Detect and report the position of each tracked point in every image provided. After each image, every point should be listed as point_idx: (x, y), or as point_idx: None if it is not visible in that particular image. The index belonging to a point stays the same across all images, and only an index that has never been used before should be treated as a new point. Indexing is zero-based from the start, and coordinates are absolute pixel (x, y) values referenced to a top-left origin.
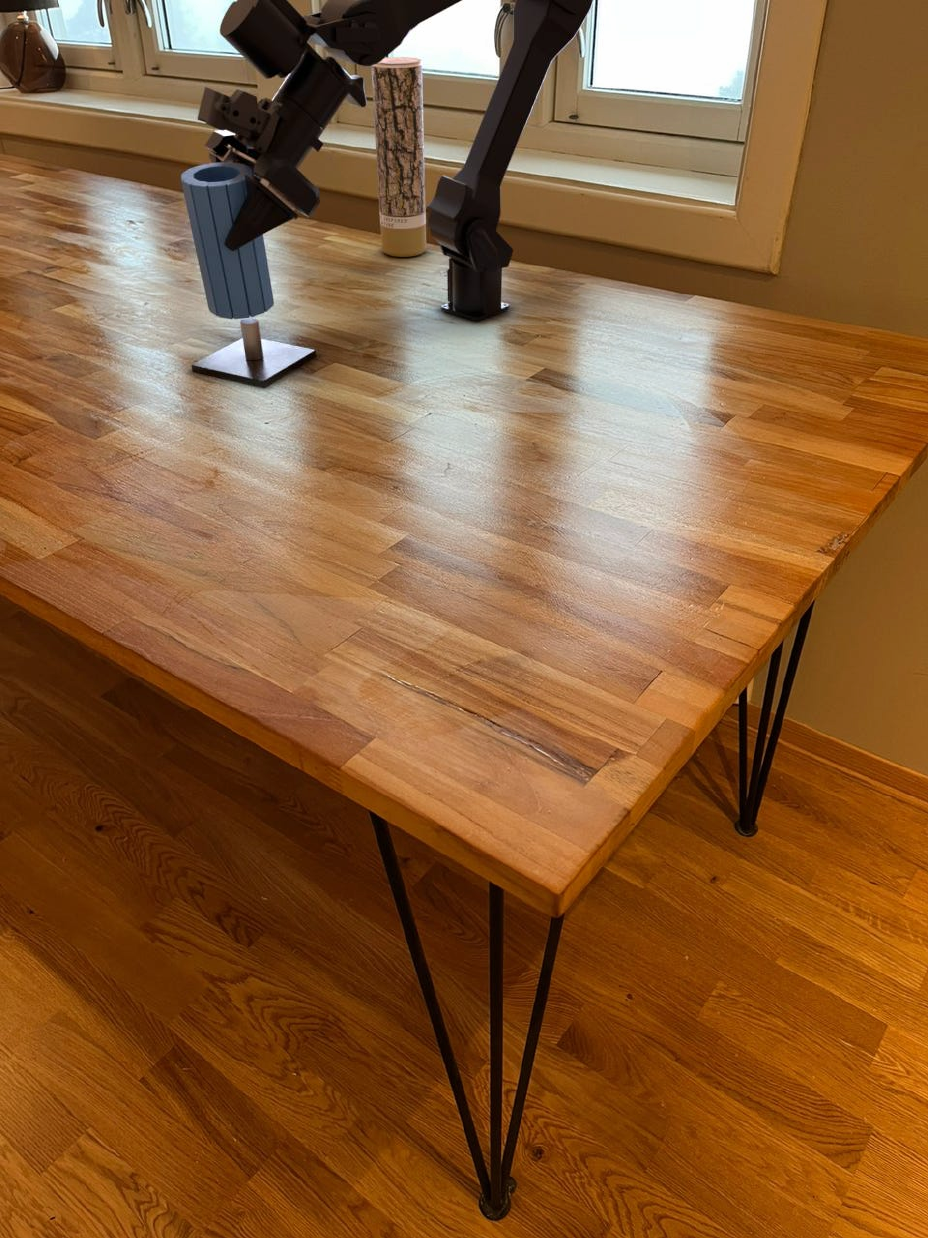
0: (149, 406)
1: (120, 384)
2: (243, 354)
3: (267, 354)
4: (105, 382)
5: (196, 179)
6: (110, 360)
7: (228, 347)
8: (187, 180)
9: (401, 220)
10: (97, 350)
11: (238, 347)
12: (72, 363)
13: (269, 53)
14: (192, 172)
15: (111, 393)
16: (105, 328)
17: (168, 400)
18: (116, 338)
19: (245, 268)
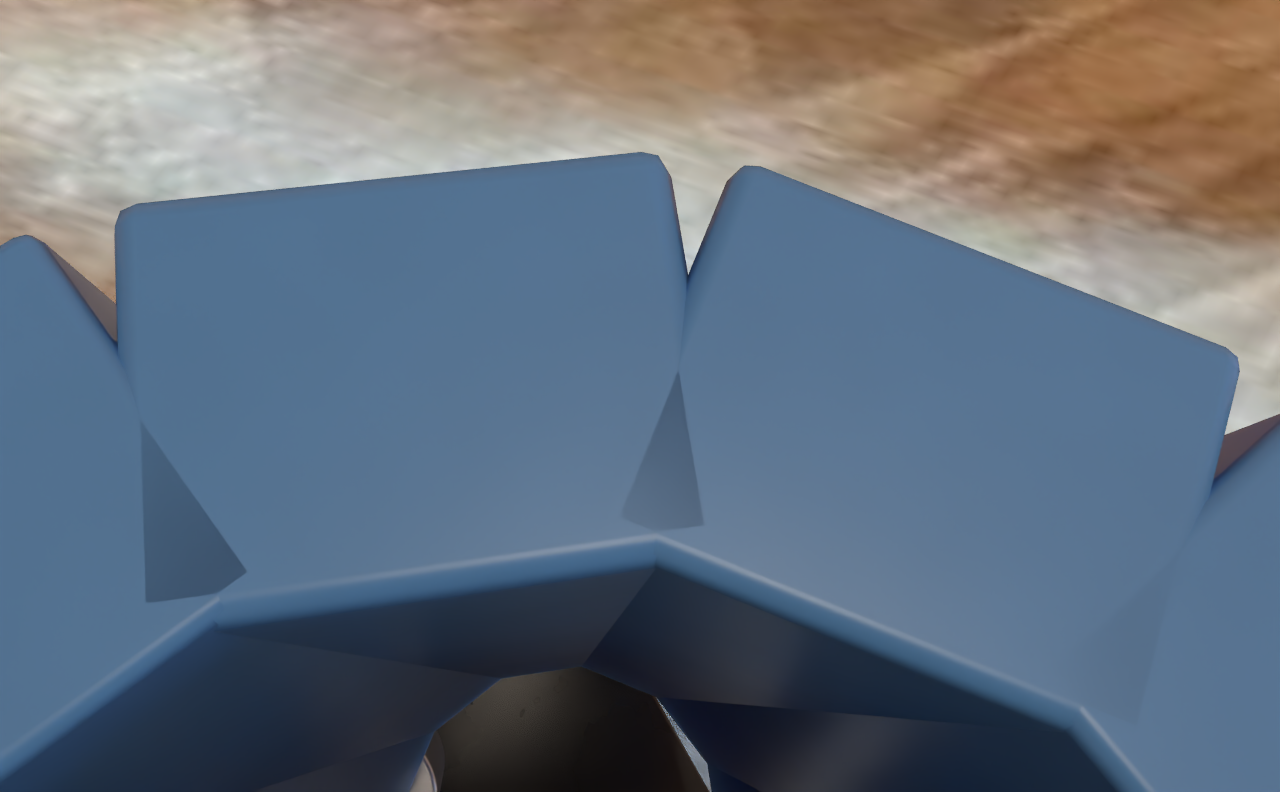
0: (210, 100)
1: (547, 85)
2: (470, 719)
3: None
4: (609, 41)
5: (455, 587)
6: (859, 147)
7: (621, 683)
8: (506, 279)
9: None
10: (1011, 141)
11: (589, 734)
12: (910, 3)
13: None
14: (1210, 720)
15: (467, 19)
16: (1273, 264)
17: (220, 194)
18: (1121, 263)
19: None
